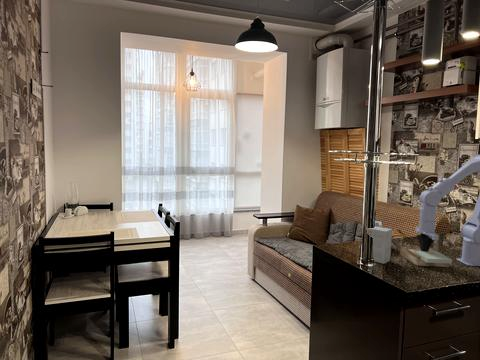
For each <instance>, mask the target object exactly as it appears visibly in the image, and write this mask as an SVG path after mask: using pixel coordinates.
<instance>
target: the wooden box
mask: <svg viewBox="0 0 480 360" xmlns="http://www.w3.org/2000/svg"><path fill="white" fill-rule="evenodd" d="M414 251H421V249H412V248H411V249H410V248H407V247H405V246H401V248H400V253H399V254H400V256H402V257H403V258H405V259H406V260H408V261H409V262H411V263H412V264H413V265H415V266H418V267H445V268H447V267H448V268H449V267H450V266H451V264H449V263H427V262H425V261H424V260H422V259H421V257H420V256H419V255H417V254H415V253H414ZM428 252H438V251H436V250H435V249H433V248H432V247H430V249H429V251H428ZM438 253H440V254H442V255H444V254H443V253H441V252H438ZM444 256H446V255H444ZM446 257H448V256H446Z"/></svg>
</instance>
